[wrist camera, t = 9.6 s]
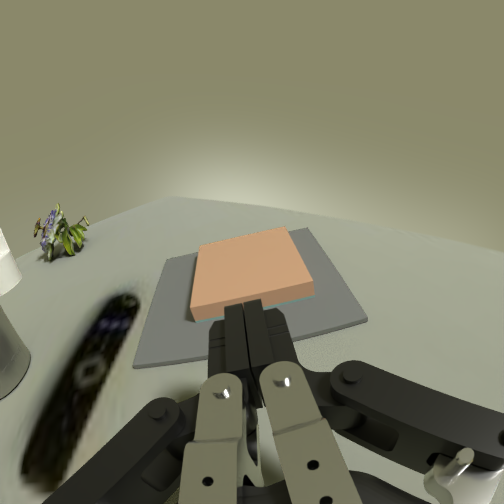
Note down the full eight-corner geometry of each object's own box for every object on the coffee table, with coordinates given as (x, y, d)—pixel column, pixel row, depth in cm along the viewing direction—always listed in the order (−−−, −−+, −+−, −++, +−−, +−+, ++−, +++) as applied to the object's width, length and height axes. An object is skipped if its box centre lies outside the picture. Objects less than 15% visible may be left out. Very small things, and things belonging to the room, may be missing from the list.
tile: (189, 307, 23) (199, 245, 34) (195, 322, 24) (203, 257, 35) (313, 280, 23) (284, 226, 34) (314, 296, 24) (287, 238, 35)
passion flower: (63, 281, 52) (30, 242, 51) (97, 248, 59) (64, 213, 57) (59, 263, 44) (23, 218, 42) (101, 226, 50) (64, 185, 49)
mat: (134, 368, 20) (132, 365, 20) (167, 262, 37) (166, 259, 36) (367, 321, 20) (367, 317, 20) (307, 230, 36) (307, 227, 36)
